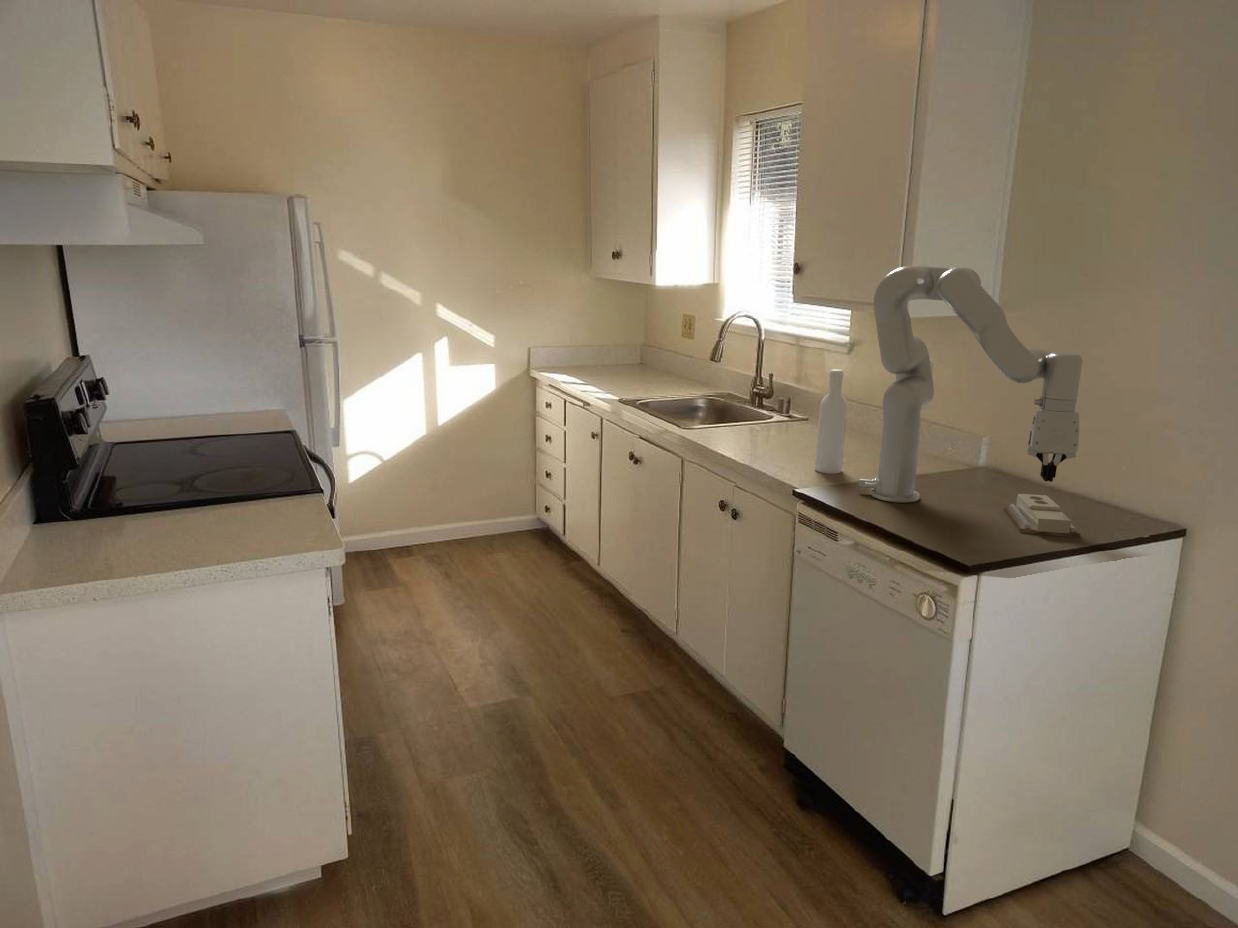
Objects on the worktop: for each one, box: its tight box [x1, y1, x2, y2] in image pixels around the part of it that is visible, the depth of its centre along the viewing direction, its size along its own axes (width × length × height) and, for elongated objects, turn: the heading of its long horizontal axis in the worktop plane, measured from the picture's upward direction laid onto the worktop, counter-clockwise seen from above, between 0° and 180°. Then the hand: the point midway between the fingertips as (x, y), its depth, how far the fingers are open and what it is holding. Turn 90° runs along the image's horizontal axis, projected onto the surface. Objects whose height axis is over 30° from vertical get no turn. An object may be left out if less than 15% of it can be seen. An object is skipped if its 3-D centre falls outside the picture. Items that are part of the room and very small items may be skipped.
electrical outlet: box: [1015, 493, 1072, 533], centre depth 209 cm, size 7×4×18 cm
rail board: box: [1003, 503, 1081, 538], centre depth 210 cm, size 13×18×2 cm
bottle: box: [814, 368, 849, 475], centre depth 252 cm, size 8×8×30 cm
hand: (1047, 480), depth 207 cm, fingers closed
